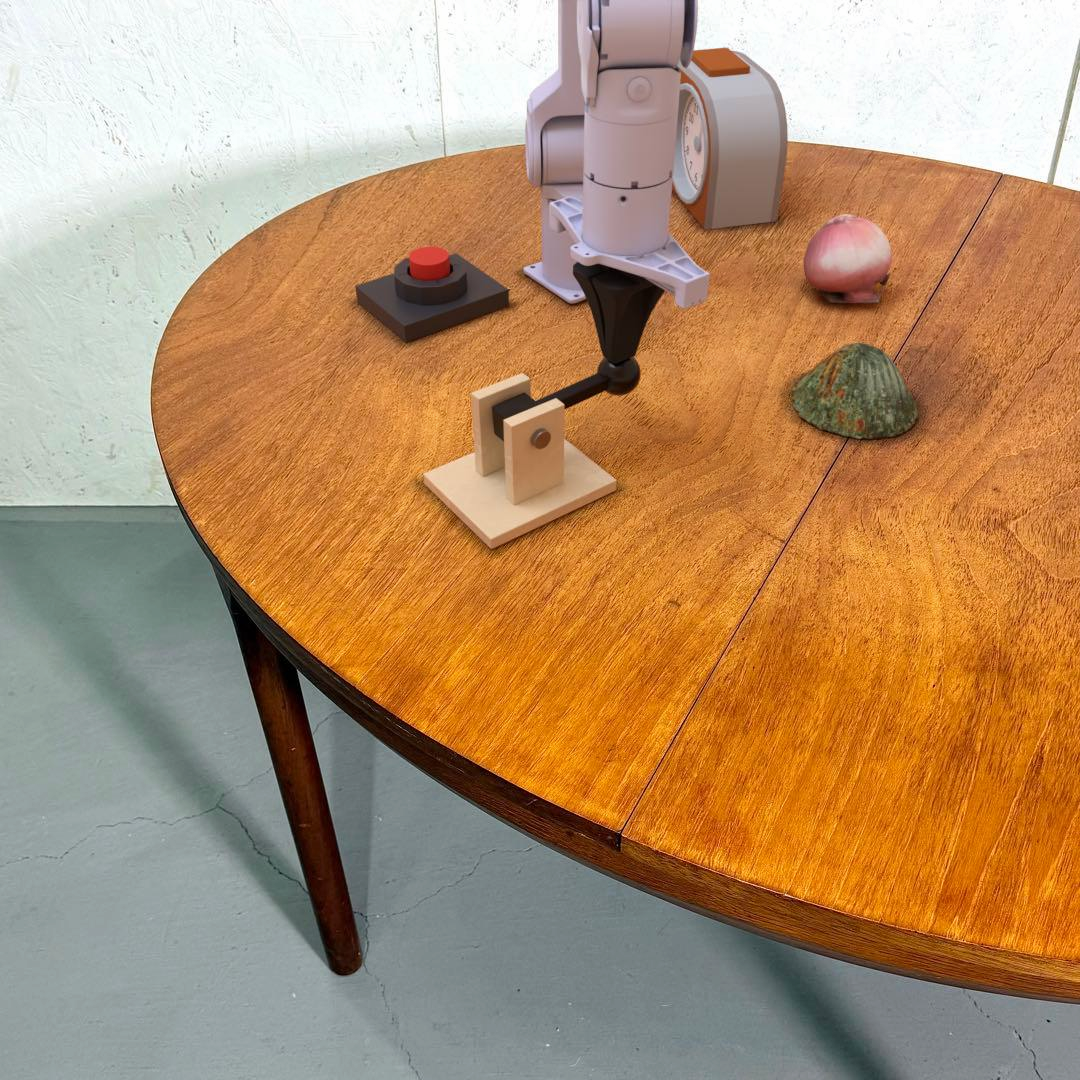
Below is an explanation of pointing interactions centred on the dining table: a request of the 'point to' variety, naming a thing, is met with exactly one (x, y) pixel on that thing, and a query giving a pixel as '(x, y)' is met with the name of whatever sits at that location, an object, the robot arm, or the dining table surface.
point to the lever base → (517, 469)
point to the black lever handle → (575, 391)
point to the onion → (848, 260)
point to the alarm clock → (729, 140)
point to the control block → (431, 298)
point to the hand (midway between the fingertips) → (619, 355)
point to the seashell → (856, 394)
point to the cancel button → (429, 263)
